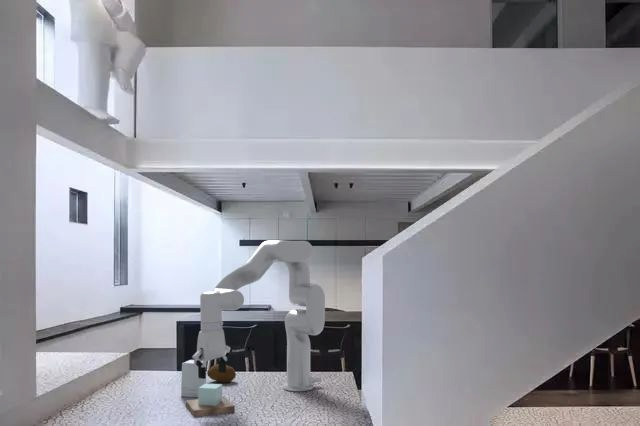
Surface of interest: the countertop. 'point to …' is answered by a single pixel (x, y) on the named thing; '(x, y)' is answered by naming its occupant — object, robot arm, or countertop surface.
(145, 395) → the countertop surface
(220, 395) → the pale blue cube
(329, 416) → the countertop surface
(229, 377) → the potato
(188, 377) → the supplement box
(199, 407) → the wooden peg base
